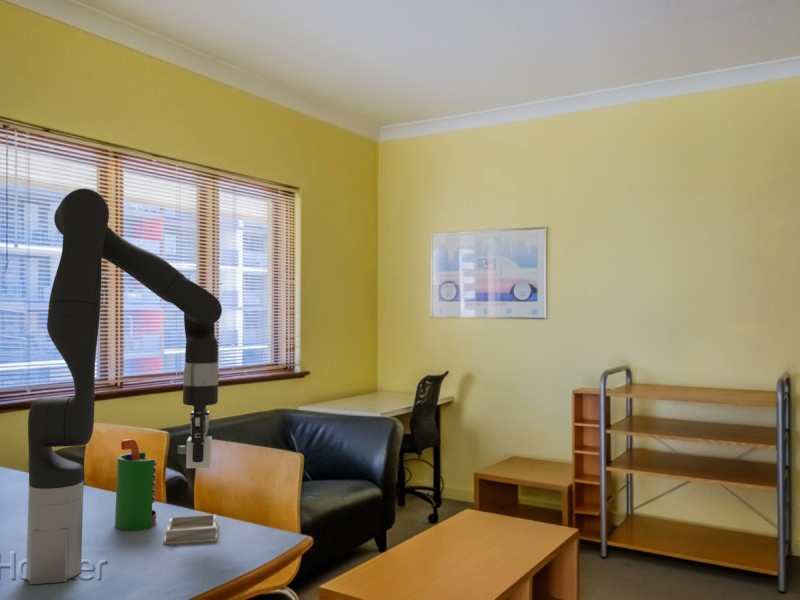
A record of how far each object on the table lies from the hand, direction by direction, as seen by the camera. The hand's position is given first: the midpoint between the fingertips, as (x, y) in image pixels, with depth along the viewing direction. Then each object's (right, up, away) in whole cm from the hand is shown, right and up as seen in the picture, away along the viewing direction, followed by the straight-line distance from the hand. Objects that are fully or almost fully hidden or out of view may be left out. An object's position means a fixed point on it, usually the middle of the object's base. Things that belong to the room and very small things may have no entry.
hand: (198, 458), depth 147 cm
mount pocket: (-2, -17, +1) cm, 17 cm away
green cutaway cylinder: (-17, -17, +7) cm, 25 cm away
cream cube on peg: (0, -1, 0) cm, 1 cm away
